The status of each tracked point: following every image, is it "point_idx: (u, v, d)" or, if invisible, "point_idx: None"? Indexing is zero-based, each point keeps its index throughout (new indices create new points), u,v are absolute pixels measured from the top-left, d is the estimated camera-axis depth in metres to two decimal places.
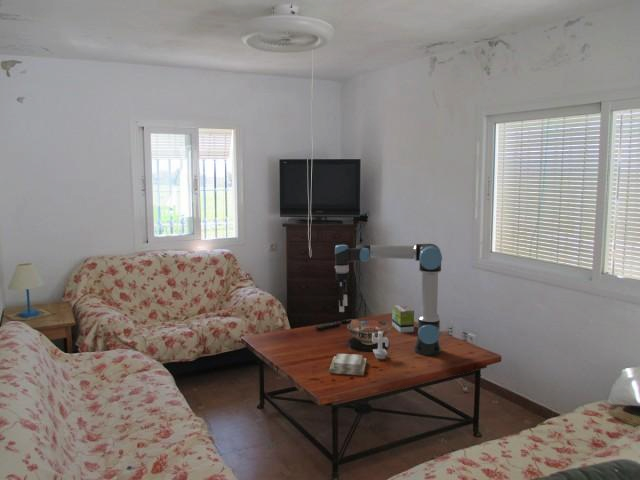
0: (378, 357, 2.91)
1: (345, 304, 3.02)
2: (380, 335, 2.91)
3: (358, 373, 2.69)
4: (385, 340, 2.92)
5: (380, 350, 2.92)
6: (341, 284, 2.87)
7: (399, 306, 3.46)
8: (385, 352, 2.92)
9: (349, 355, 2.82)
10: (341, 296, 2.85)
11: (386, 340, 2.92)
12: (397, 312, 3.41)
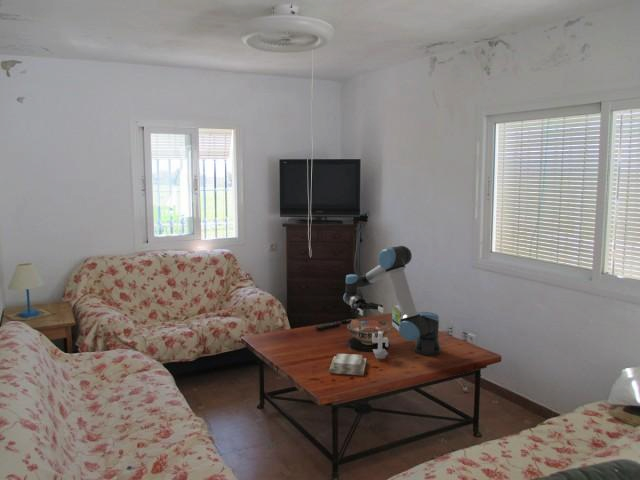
0: (378, 357, 2.91)
1: (382, 310, 3.02)
2: (380, 335, 2.91)
3: (358, 373, 2.69)
4: (385, 340, 2.92)
5: (380, 350, 2.92)
6: (351, 305, 3.11)
7: None
8: (385, 352, 2.92)
9: (349, 355, 2.82)
10: None
11: (386, 340, 2.92)
12: (397, 312, 3.41)
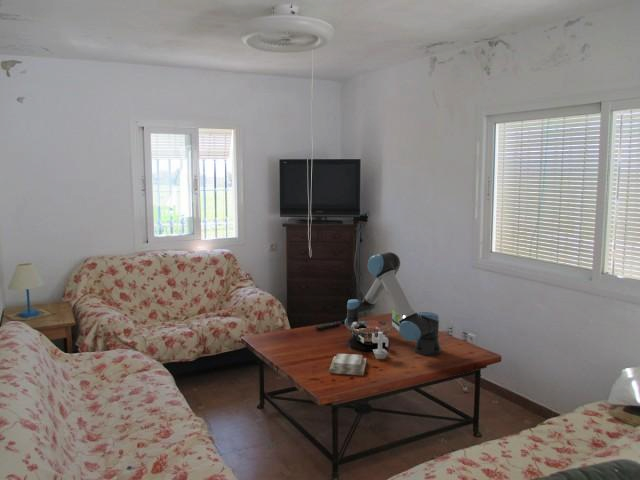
0: (378, 357, 2.91)
1: (383, 337, 3.02)
2: (380, 335, 2.91)
3: (358, 373, 2.69)
4: (385, 340, 2.92)
5: (380, 350, 2.92)
6: None
7: None
8: (385, 352, 2.92)
9: (349, 355, 2.82)
10: None
11: (386, 340, 2.92)
12: None
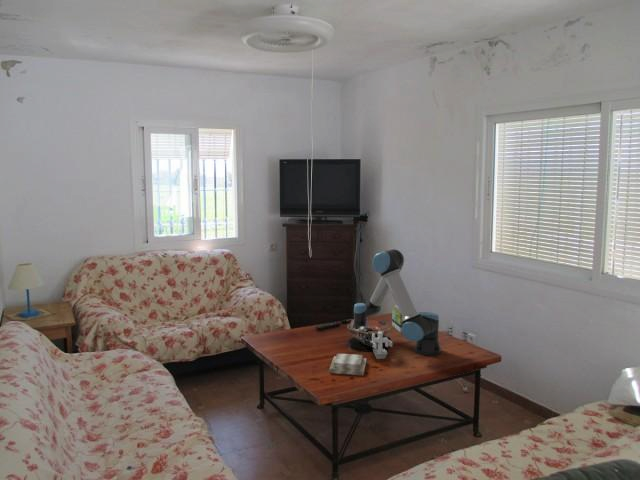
0: (378, 357, 2.91)
1: (390, 343, 2.91)
2: (380, 335, 2.91)
3: (358, 373, 2.69)
4: (385, 340, 2.91)
5: (380, 350, 2.92)
6: (361, 337, 3.01)
7: None
8: (385, 352, 2.91)
9: (349, 355, 2.82)
10: (363, 341, 2.94)
11: (386, 340, 2.92)
12: (397, 312, 3.41)
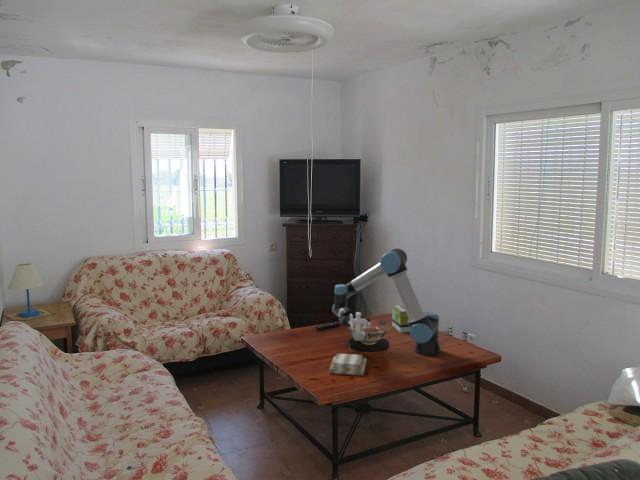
0: (356, 338, 2.83)
1: (368, 325, 2.82)
2: (358, 316, 2.82)
3: (358, 373, 2.69)
4: (363, 321, 2.83)
5: (358, 331, 2.83)
6: (339, 318, 2.93)
7: (399, 306, 3.46)
8: (363, 333, 2.83)
9: (349, 355, 2.82)
10: (341, 322, 2.86)
11: (364, 321, 2.83)
12: (397, 312, 3.41)
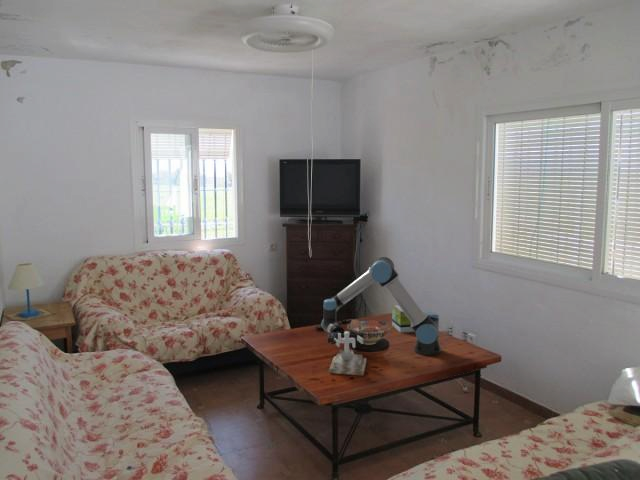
0: (344, 358, 2.75)
1: (361, 340, 2.77)
2: (346, 335, 2.75)
3: (358, 373, 2.69)
4: (352, 340, 2.76)
5: (346, 351, 2.76)
6: (328, 334, 2.86)
7: None
8: (352, 353, 2.76)
9: None
10: (328, 338, 2.79)
11: (353, 340, 2.76)
12: (397, 312, 3.41)
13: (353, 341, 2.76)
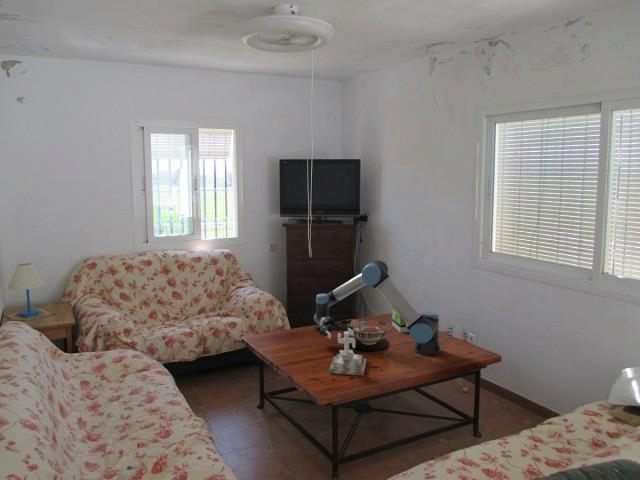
0: (344, 358, 2.75)
1: (351, 332, 2.89)
2: (346, 335, 2.75)
3: (358, 373, 2.69)
4: (352, 340, 2.76)
5: (346, 351, 2.76)
6: (320, 327, 2.98)
7: None
8: (352, 353, 2.76)
9: None
10: None
11: (353, 340, 2.76)
12: None
13: (353, 341, 2.76)
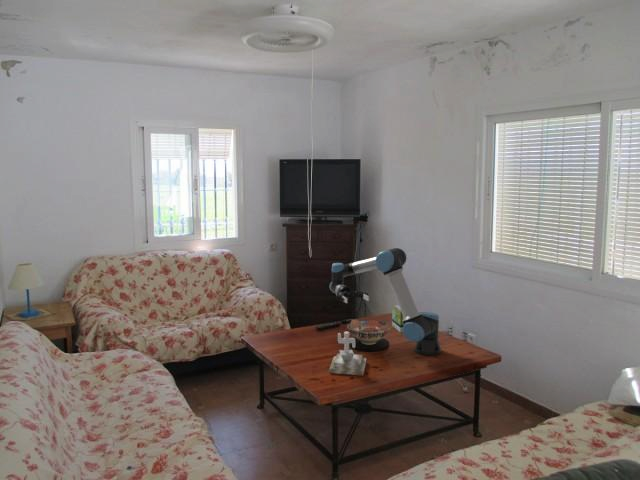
0: (344, 358, 2.75)
1: (367, 298, 2.98)
2: (346, 335, 2.75)
3: (358, 373, 2.69)
4: (352, 340, 2.76)
5: (346, 351, 2.76)
6: (336, 294, 3.08)
7: None
8: (352, 353, 2.76)
9: None
10: (336, 296, 3.01)
11: (353, 340, 2.76)
12: (397, 312, 3.41)
13: (353, 341, 2.76)
